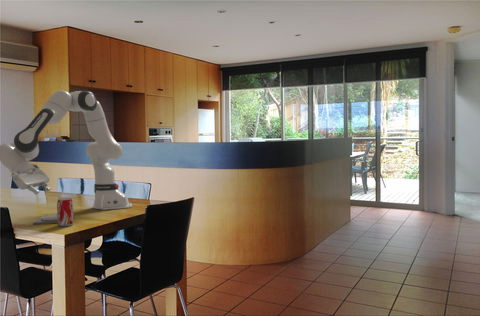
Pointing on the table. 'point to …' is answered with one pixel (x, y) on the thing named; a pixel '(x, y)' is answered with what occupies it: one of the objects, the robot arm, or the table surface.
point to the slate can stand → (47, 219)
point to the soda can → (65, 212)
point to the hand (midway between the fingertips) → (43, 191)
